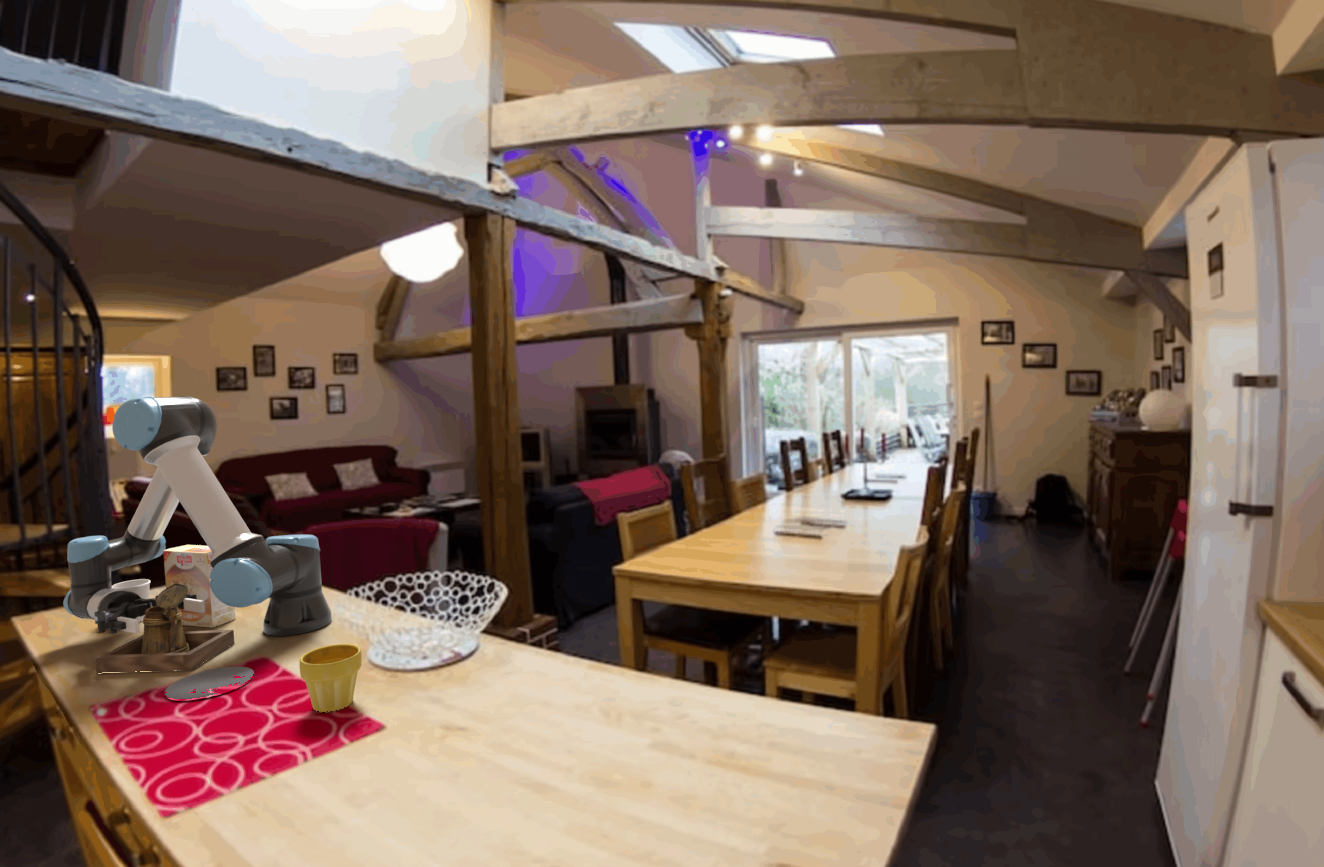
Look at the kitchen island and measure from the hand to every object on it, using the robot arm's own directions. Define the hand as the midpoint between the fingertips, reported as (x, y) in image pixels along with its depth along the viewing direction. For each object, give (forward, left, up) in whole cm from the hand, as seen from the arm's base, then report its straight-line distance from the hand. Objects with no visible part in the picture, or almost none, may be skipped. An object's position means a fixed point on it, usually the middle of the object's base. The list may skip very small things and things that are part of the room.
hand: (171, 616), depth 151 cm
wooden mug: (+2, -1, -10) cm, 10 cm away
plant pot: (-47, +25, -10) cm, 54 cm away
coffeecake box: (+11, -26, -10) cm, 30 cm away
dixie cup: (+31, -29, -10) cm, 44 cm away
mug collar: (+2, -1, -10) cm, 10 cm away
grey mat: (-17, +14, -10) cm, 24 cm away
